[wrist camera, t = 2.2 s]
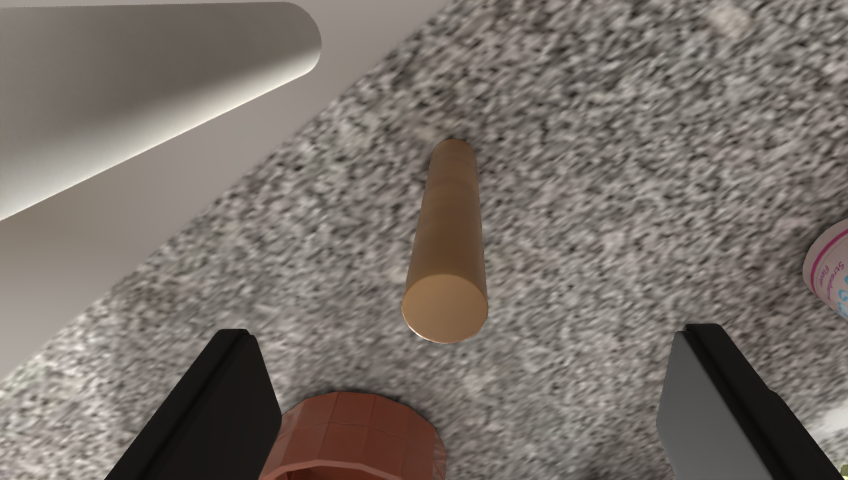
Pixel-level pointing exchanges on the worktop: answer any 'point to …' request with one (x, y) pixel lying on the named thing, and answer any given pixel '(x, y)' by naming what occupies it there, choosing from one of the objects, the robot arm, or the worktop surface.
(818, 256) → the beverage can
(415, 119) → the worktop surface
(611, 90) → the worktop surface
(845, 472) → the figurine
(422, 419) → the bowl
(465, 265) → the stick
